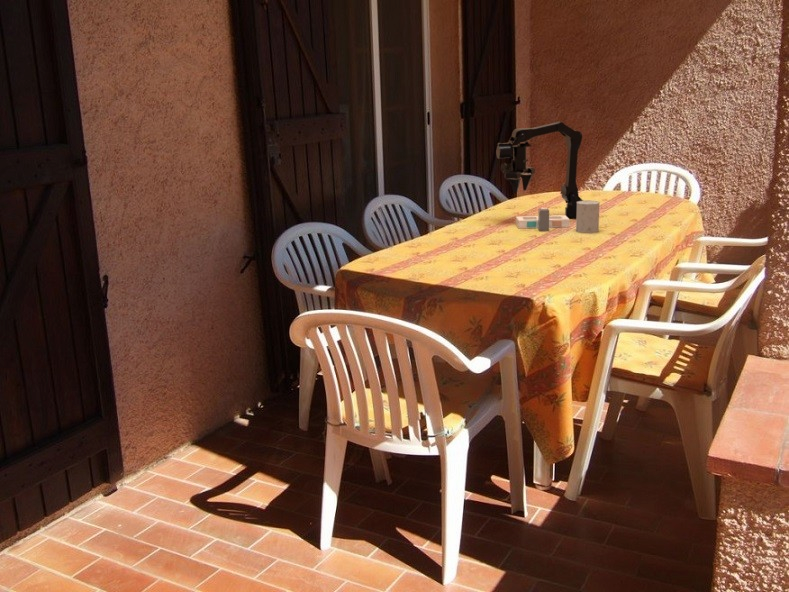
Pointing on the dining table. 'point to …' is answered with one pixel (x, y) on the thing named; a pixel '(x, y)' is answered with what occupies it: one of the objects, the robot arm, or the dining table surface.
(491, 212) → the dining table surface
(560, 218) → the socket strip
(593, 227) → the stone cylinder
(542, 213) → the plug
